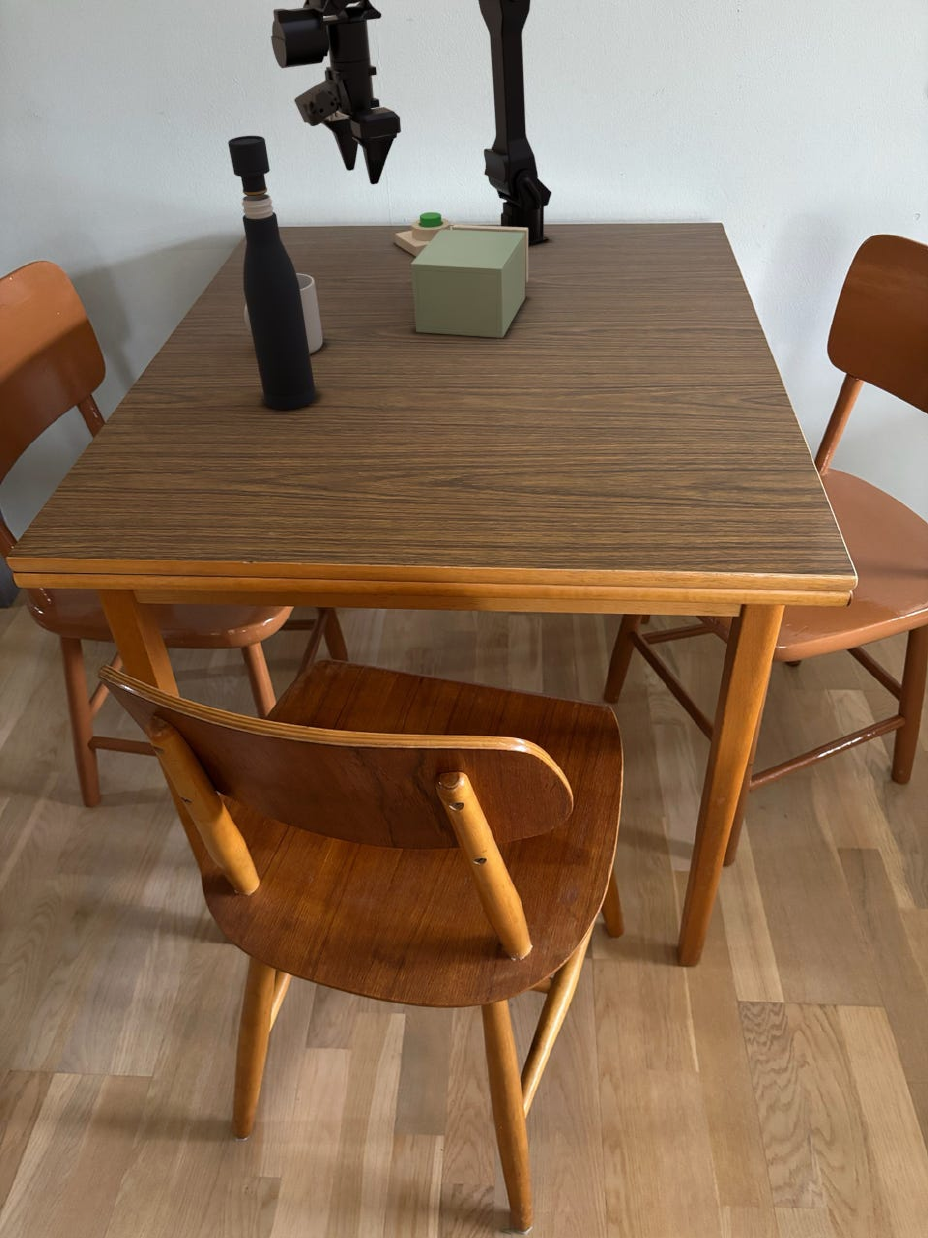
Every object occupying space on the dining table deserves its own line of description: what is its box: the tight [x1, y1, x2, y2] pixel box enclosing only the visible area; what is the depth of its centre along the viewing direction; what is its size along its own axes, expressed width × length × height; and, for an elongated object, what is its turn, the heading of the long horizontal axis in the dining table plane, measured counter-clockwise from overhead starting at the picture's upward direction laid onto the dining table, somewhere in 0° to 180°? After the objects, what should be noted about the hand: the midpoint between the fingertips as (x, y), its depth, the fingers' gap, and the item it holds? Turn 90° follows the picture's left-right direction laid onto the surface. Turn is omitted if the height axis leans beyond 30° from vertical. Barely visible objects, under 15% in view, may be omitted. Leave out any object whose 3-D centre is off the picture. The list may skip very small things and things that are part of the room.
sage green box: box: [410, 229, 526, 339], centre depth 136 cm, size 15×13×10 cm
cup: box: [243, 272, 324, 355], centre depth 130 cm, size 7×10×9 cm
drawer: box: [452, 224, 529, 284], centre depth 142 cm, size 17×11×8 cm, turn 165°
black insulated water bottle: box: [227, 135, 317, 411], centre depth 111 cm, size 6×6×30 cm
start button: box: [419, 211, 442, 228], centre depth 161 cm, size 4×4×2 cm
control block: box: [394, 217, 454, 258], centre depth 163 cm, size 10×8×4 cm
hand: (362, 176), depth 145 cm, fingers open, 9 cm apart
